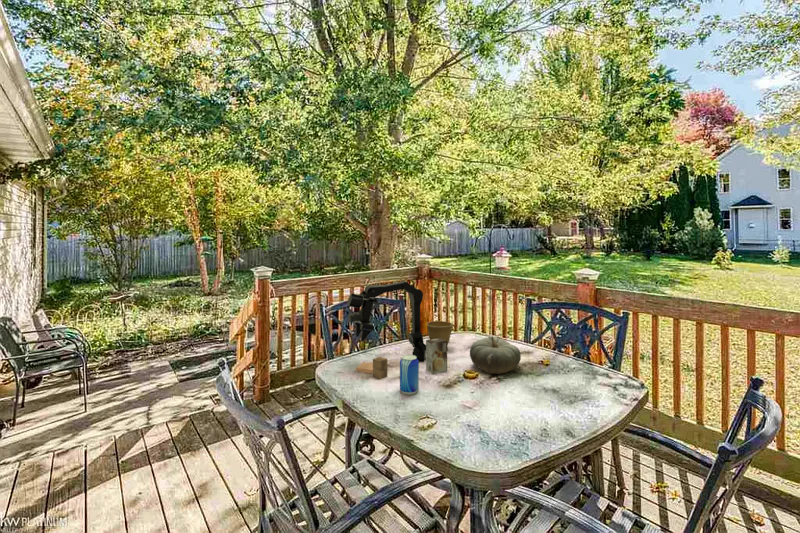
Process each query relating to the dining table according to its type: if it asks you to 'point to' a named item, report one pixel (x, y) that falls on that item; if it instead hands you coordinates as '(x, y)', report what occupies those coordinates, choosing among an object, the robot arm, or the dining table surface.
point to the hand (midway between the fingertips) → (359, 338)
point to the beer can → (409, 374)
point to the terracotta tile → (365, 367)
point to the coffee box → (436, 355)
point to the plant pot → (439, 330)
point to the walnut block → (380, 367)
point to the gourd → (495, 355)
